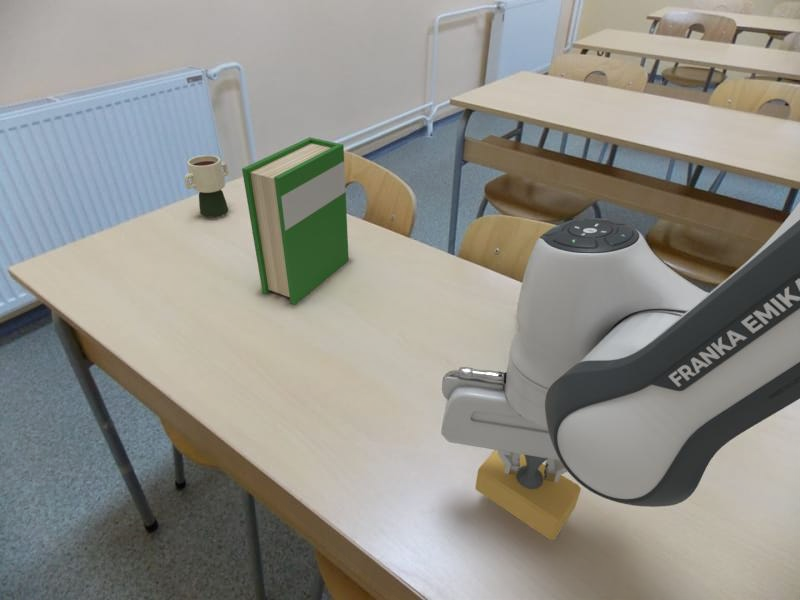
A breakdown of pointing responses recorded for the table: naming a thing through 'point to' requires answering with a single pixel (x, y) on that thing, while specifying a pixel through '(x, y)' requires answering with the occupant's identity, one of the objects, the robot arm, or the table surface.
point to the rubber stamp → (529, 493)
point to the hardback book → (298, 216)
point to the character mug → (208, 183)
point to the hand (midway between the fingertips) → (531, 472)
